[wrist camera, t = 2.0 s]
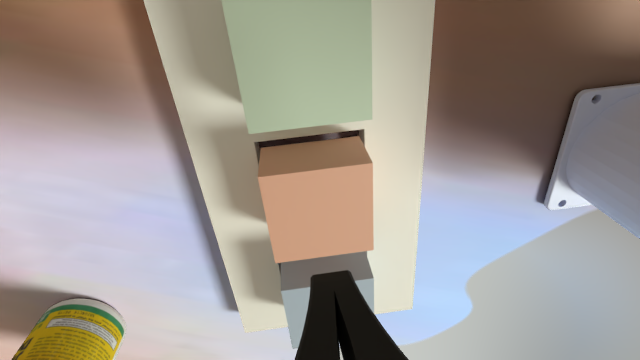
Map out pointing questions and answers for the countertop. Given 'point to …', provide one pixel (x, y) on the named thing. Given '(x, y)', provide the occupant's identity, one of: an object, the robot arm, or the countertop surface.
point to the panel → (243, 149)
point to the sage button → (301, 61)
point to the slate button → (298, 283)
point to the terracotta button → (317, 198)
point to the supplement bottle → (75, 333)
